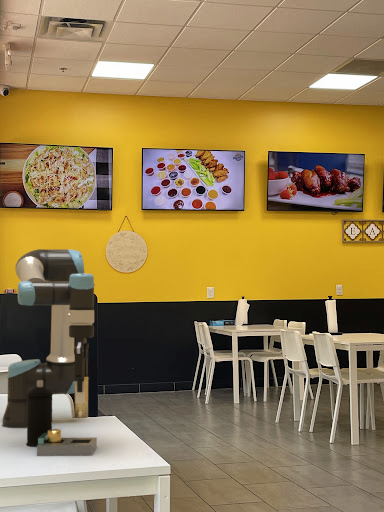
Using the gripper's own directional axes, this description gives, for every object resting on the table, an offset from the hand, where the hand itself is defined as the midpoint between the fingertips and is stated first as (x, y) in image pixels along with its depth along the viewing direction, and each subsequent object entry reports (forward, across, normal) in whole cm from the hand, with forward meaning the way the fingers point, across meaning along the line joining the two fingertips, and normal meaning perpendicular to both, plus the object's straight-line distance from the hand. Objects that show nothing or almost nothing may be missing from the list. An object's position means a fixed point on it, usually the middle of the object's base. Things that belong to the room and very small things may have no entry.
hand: (81, 401), depth 222 cm
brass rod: (+5, 0, 0) cm, 5 cm away
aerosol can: (+15, -12, -15) cm, 24 cm away
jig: (+15, 0, -4) cm, 15 cm away
